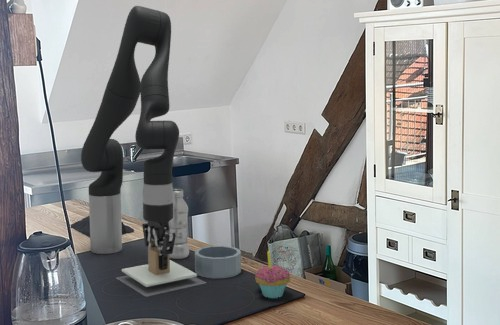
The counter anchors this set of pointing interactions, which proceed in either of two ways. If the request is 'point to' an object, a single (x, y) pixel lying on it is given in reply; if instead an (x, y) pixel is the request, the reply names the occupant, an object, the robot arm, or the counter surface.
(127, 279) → the mat
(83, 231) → the dark slate chunk
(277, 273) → the cupcake
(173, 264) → the lid
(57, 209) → the counter surface
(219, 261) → the bowl
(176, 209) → the plastic bottle
